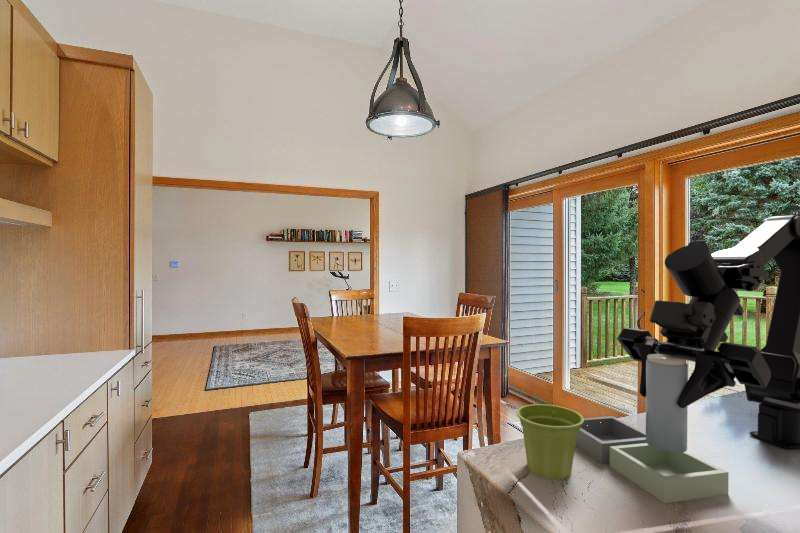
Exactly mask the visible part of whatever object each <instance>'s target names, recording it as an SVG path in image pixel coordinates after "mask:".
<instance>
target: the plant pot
mask: <svg viewBox="0 0 800 533" xmlns="http://www.w3.org/2000/svg"><path fill="white" fill-rule="evenodd" d="M516 415H517V418H519V422H520V425H521V428H522V433H523V434H522V435H523V440H524V446H525V447H524V448H525V456H526V465H527V468H528V470H529V471H530V472H531V473H533V474H534V475H536V476H539V477H541V478H543V479H544V478H545V479H550V480H563V479H567V478H569V477H570V476H572V475H571V474H572V471H573V470H572V469H573V464H574V456H575V451H576V447H577V446H576V440H577V435H578V433H579V431H580V427H581V425H582V424H583V423H584V417H583V415H582V414H581V413H580V412H578V411H576V410H573V409H570V408H567V407H563V406H560V405H555V404H545V403H544V404H543V403H537V404H536V403H535V404H533V403H532V404H527V405H523V406H521V407H519V408H518V409H517V410H516Z"/></svg>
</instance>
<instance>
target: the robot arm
mask: <svg viewBox="0 0 800 533" xmlns="http://www.w3.org/2000/svg"><path fill="white" fill-rule="evenodd" d="M771 260H774V262H775V264H776V266H777V267H778V269H779V271H780V274H779V278H778V283H777V288H776V293H775V298H774V302H773V307H772V308H773V309H772V313H771V317H770V323H769V328H768V332H767V338H766V343H765V345H764V346H763V347H762V348H761V349H760V350H759V349H758V348H757V346H755V345H753V346H752V345H746V344H739V343H736V342H735V343H733V342H727V341H728V338H729V336H728V334H727V333H726V330H727V329H728V326H729V324H730V322H731V320H733V319H732V318H733V316H740V317H742V316H743V315H744V309H743V306H742V305H741V301H742V300H741V298H740V297H739V296H740V295H739V294H738V293H737V291H739V292H754V291H756V290H757V289H758V288H759V287H760V286H761V284H762V283H763V282H764V281H765V279H766V277H767V271H766V269H765V268H766V265H767V264H768V263H770V261H771ZM664 266H665V268H666V269H667V270H668V272H669V274H670V275H671V277H672V279H673V280H674V282H675V284H676V285H677V287H678V289H679V290H680V292H681V293H682V294H684V295H685V296H688V297H691V298H690V299H689V301H688V303H685V302H681V301H669V300H654V304H653V306H652V310H651V313H650V317H649V322H650V323H653V324H656V325H658V327H661V329H660V331H659V332H660V334H661V335H662V337H663V338H666V339H667V340H666V341H662V340H658V339H657V338H655V337H653V336H652V334H651V332H650V331H649V330H647V329H640V328H632V327H624V328H622V330H621V331H620V333H619V335H618V336H617V338H616V339H617V341H618V342H619V344H620V345H621V346H622V348H623V349H624V351H625V352H626V353H627V355H628V356H629V357H630V358H631V359H632V360H634V361H636V362H639V363H641V372H640V382H639V394H640V395H641V397H644V398H646V360H647V355H649V354H667V355H674V356H679V357H683V358H685V359H686V362H693V363H694V368H693V371H692V372H691V375H690V376H689V378H688V379H687V383H686V385H685V387H684V389H683V390H682V392H681V394H680V397H679V399H678V402H677V404H678V406H679V407H680V408H685V407H687V408H688V406H690V405H692V404H693V403H695V402H697V401H699V400H701V399H702V398H704V397H706V396H708V395H710V394H712V393H714V392H717V391H719V390H721V389H723V388H725V387H730V388H731V387H735V386H736V385H737V382H736V381H738V383H739V384H741V385H744V388H745V394H746V400H747V401H748V402H753V403H758V413H757V430H753V431H749V435H750V436H753V437H755V438H758V439H760V440H763V441H766V442H768V443H770V444H773V445H776V446H779V447H782V448H784V449H787V450H792V449H798V448H799V449H800V215H797V214H791V215H790V214H789V215H778V216H769V217H768V218H764V219H762V222H761V225H760V226H758V227H757V228H755V229H754V230H753V231H752V232H750V233H749V234H748V235H747V236H746V237H745V238H744V239H743V240H741V241H740V242H739V243H737V244H736V245H735V246H733V247H731V248H725V249H721V250H717V251H715V252H713V253H711V251H710V249H709V246H708V244H707V242H706V240H702V239H701V240H690V241H689V243H688V244H687V245H685V246H682V247H680V248H677V249H675V250H674V251H672V252H671V253H670V254H668V255H666V257H665V258H664ZM719 343H720V344H719ZM718 345H719V346H718ZM716 348H717V350H718V351H717V350H716ZM735 379H736V381H735Z"/></svg>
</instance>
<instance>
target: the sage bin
mask: <svg viewBox="0 0 800 533" xmlns="http://www.w3.org/2000/svg"><path fill="white" fill-rule="evenodd" d="M609 467H610V468H611V469H612V470H614V471H616V472H617V473H618V474H620V475H621V476H622V477H624V478H625V479H627V480H629V482H632V483H633V484H634V485H636V486H638V487H639V488H641V489H642V490H644V491H645V492H646V493H648V494H649V495H651V496H653V497H654V498H655V499H656V500H659V501H660V502H661V503H662V504H665V505H666V504H671V503H678V502H686V501H692V500H693V501H694V500H703V499H708V498H716V497H723V496H728V495H729V474H730V473H729V472H730V471H727V470H725V469H723V468H721V467H720V466H716V465H715V464H713V463H711V462H709V461H707V460H705V459H704V458H703V459H702V458H701V457H698V456H697V455H695V454H693V453H691V452H689V451H688V450H687V451H685V452H681V453H673V452H666V451H662V450H658V449H656V448H653V447H651V446H649V445H648V444H647V443H641V444H631V445H620V446H610V463H609Z"/></svg>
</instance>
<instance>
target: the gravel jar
mask: <svg viewBox="0 0 800 533" xmlns="http://www.w3.org/2000/svg"><path fill="white" fill-rule="evenodd" d="M688 371H689V370H688V363H687V360H686V359H685V358H683V357H679V356H674V355H667V354H649V355H647V360H646V397H645V432H646V443H647V444H648V445H649V446H651V447H653V448H656V449H658V450H662V451H666V452H673V453H681V452H685V451H687V452H688V406H687V407H685V408H680V407H679V406H678V404H677V402H678V399H679V397H680V394H681V392H682V390H683V389H684V387H685V385H686V383H687V381H688Z"/></svg>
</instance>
